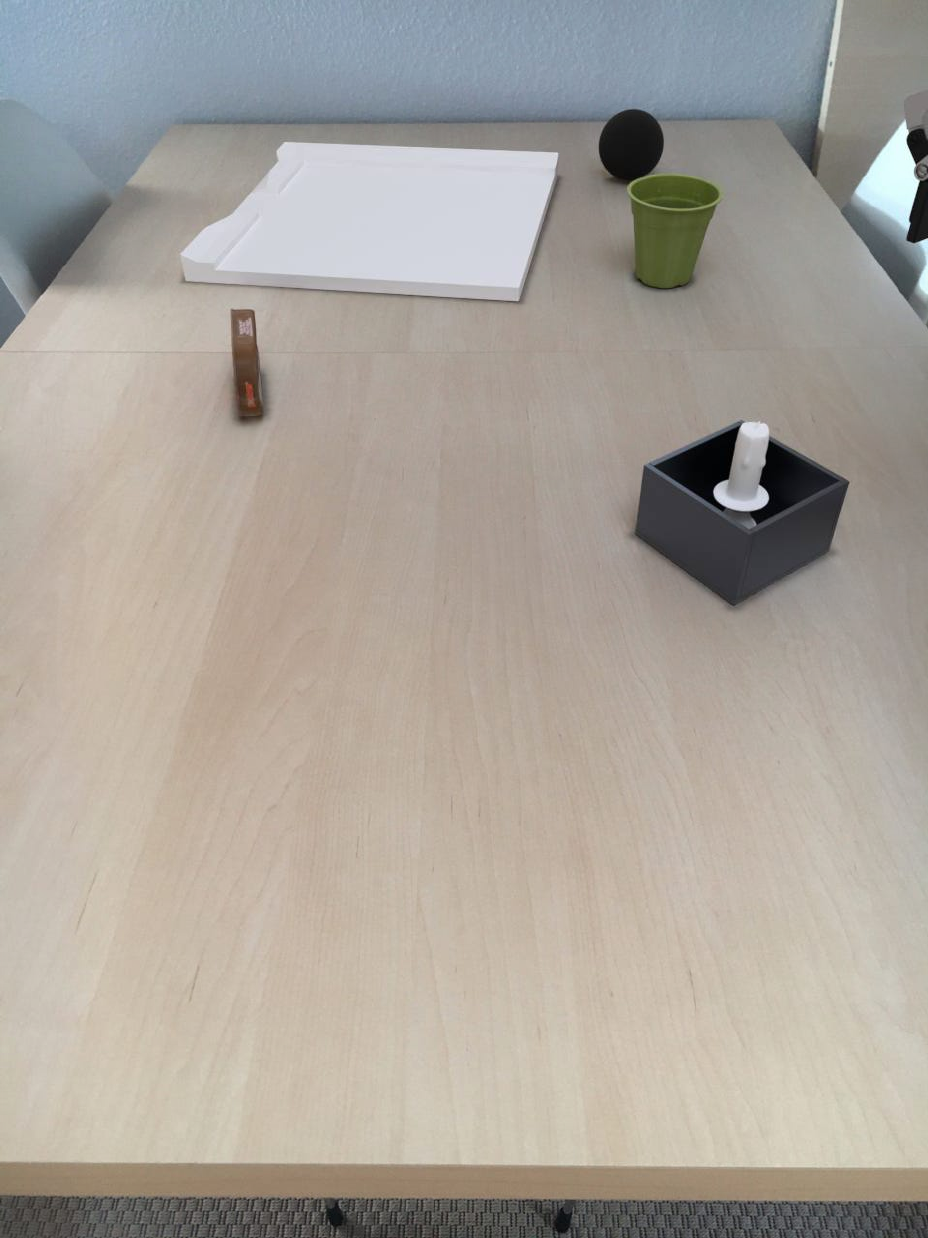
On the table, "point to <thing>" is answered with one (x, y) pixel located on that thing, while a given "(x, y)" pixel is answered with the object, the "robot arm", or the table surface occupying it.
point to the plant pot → (670, 225)
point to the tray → (384, 222)
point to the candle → (745, 475)
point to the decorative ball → (631, 144)
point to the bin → (719, 545)
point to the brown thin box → (246, 363)
